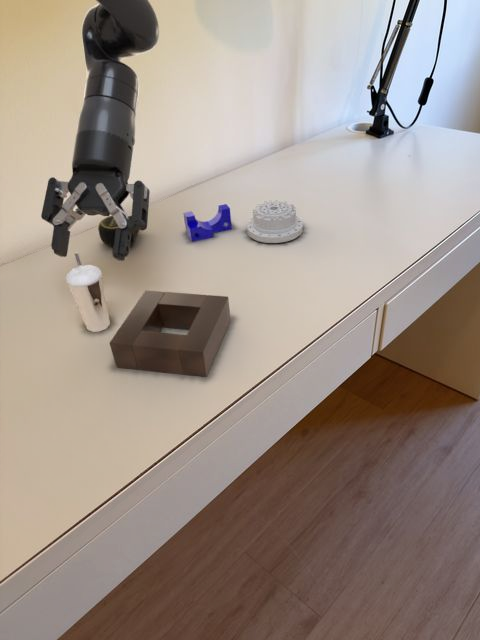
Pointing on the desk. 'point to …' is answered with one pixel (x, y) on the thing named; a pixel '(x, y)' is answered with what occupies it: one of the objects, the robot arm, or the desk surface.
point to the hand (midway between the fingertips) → (88, 257)
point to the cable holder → (207, 224)
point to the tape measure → (111, 230)
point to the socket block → (166, 348)
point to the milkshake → (89, 295)
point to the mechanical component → (274, 222)
